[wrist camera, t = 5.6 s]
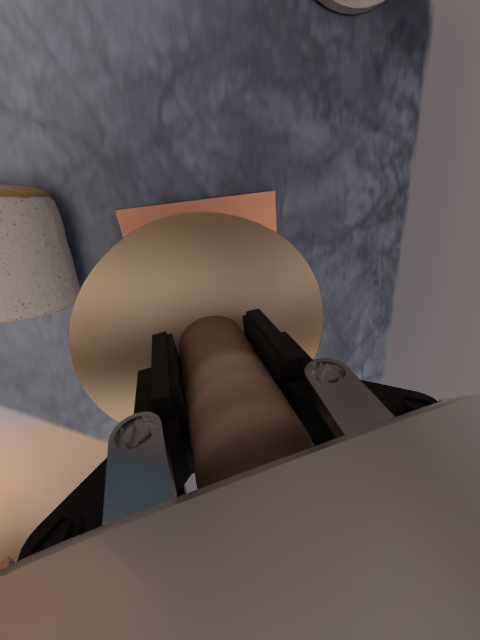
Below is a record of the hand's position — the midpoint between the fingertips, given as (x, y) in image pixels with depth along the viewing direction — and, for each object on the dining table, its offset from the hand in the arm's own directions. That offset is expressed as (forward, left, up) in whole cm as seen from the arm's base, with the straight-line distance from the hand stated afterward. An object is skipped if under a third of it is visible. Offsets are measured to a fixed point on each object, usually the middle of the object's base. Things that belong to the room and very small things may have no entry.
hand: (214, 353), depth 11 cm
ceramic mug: (-4, -13, -17) cm, 21 cm away
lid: (0, 0, -2) cm, 2 cm away
